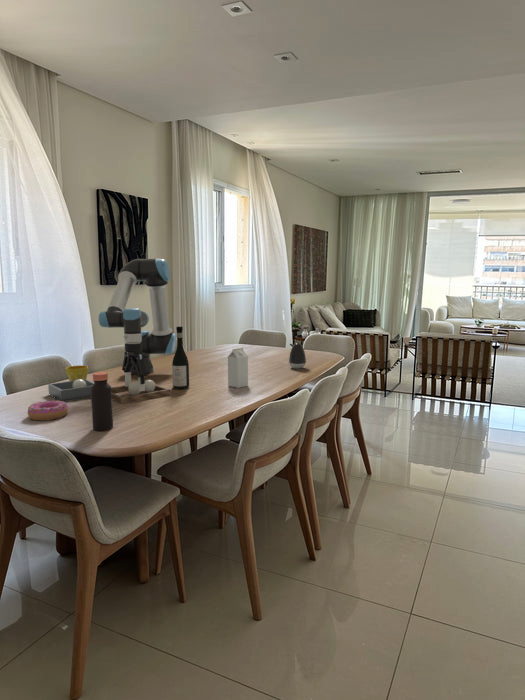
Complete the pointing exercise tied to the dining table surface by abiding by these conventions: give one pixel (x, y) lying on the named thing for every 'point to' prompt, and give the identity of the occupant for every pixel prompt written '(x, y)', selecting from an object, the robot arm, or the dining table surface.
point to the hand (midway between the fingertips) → (134, 388)
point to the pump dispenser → (297, 356)
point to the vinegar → (101, 402)
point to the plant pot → (77, 372)
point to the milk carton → (238, 368)
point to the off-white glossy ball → (79, 383)
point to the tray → (158, 393)
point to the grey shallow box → (70, 390)
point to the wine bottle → (180, 364)
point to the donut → (47, 410)
